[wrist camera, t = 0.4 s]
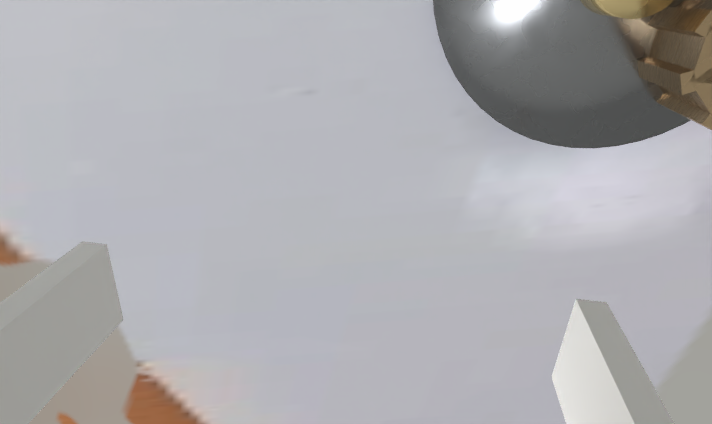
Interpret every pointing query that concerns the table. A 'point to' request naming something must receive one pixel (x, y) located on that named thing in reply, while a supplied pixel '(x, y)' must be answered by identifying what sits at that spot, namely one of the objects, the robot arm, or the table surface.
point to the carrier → (583, 65)
